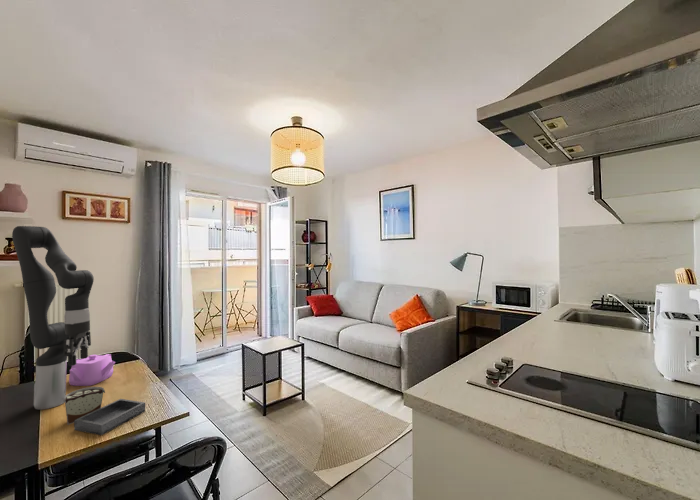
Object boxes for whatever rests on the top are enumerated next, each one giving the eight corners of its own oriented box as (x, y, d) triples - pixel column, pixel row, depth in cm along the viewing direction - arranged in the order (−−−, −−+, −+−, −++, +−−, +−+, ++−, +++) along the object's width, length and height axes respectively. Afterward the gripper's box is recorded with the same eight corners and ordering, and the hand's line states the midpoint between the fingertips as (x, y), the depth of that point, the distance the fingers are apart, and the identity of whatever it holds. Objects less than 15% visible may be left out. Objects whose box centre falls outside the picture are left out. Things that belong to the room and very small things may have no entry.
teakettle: (111, 371, 164) (111, 347, 164) (115, 380, 152) (116, 355, 152) (67, 379, 152) (68, 354, 153) (68, 391, 140) (69, 363, 140)
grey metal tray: (74, 430, 109) (74, 420, 109) (120, 407, 126) (120, 398, 126) (101, 435, 106) (101, 425, 106) (145, 411, 123) (145, 402, 123)
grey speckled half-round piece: (100, 408, 125) (101, 383, 125) (104, 413, 121) (105, 387, 121) (59, 420, 115) (60, 393, 115) (62, 426, 111) (62, 398, 111)
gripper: (75, 318, 128) (76, 357, 127) (54, 325, 114) (55, 369, 114) (97, 316, 130) (98, 355, 130) (79, 323, 116) (80, 366, 116)
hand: (78, 361), depth 122 cm, fingers open, 8 cm apart
